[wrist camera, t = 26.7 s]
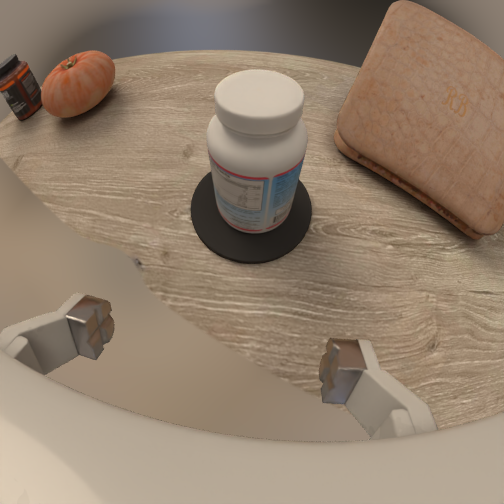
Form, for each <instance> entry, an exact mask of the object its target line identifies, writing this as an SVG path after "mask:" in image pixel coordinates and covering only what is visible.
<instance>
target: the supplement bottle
mask: <svg viewBox="0 0 504 504" xmlns="http://www.w3.org/2000/svg"><path fill="white" fill-rule="evenodd" d="M0 92H1V93H2V95H3V97H4V98H5V100H6V101H7V103H8V104H9V106H10V107H11V109H12V111H13V112H14V114H15V115H16V117H17V118H18V119H19V120H23V119H25V118H28V117H29V116H31V115H32V114H33V113H34V112H35V111H37V110H38V109H39V108H40V106H41V105H42V100H41V89H40V87H39V85H38V83H37V81H36V80H35V77H34V76H33V74H32V72H31V70H30V68H29V66H28V64H27V62H25V61H19V60H18V57H17V55H16V54H13V55H11V56H10V57H8V58H7V59H6V60H5V61H3V62H2V63H1V64H0Z"/></svg>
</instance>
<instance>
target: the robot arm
mask: <svg viewBox="0 0 504 504" xmlns="http://www.w3.org/2000/svg"><path fill="white" fill-rule="evenodd" d="M111 311H112V309H111V305H110V302H108V301H107V300H103V299H100V298H96V297H93V296H90V295H85V294H82V293H79V292H78V293H75V294H74V295H72V297H70V298H69V299H68V300H67V301H66V302H65V303H64V304H63V305H62V306H61V307H60V308H59V309H58V310H56V312H49V313H47V314H43V315H40V316H37V317H34V318H32V319H28V320H25V321H23V322H19V323H16V324H13V325H10V326H7V327H6V328H5V329H4V330H3V331H2V332H1V333H0V504H504V411H503V412H500V413H497V414H494V415H491V416H488V417H485V418H482V419H479V420H475V421H472V422H468V423H465V424H461V425H457V426H453V427H449V428H445V429H440V430H438V428H437V425H436V423H435V420H434V417H433V415H432V412H431V410H430V407H429V405H428V404H427V403H425V402H424V401H423V400H422V399H420V398H419V397H418V396H417V395H415V394H414V393H413V392H412V391H410V390H409V389H408V388H407V387H405V386H404V385H403V384H402V383H400V382H399V381H398V380H397V379H395V378H394V377H393V376H392V375H391V374H389V373H388V372H387V371H386V370H381V367H380V364H379V362H378V359H377V356H376V354H375V351H374V349H373V346H372V344H371V341H370V340H361V339H356V340H352V339H338V338H330V339H329V340H328V342H327V345H326V349H327V353H325V354H324V355H323V356H322V359H321V361H320V367H319V379H320V381H321V382H322V383H323V385H322V387H321V394H322V402H323V403H332V404H345V406H346V407H347V408H348V410H349V411H350V412H351V413H352V415H353V416H354V417H355V418H356V420H357V421H358V422H359V423H360V425H361V426H362V427H363V428H364V429H365V431H366V432H367V433H368V434H369V435H370V437H371V438H370V439H369V440H362V441H339V442H305V441H304V442H303V441H283V440H270V439H259V438H250V437H241V436H235V435H228V434H221V433H216V432H210V431H205V430H200V429H195V428H190V427H186V426H182V425H177V424H173V423H169V422H165V421H162V420H158V419H154V418H151V417H147V416H144V415H141V414H137V413H134V412H131V411H128V410H125V409H122V408H119V407H116V406H113V405H111V404H108V403H106V402H103V401H100V400H98V399H95V398H93V397H90V396H88V395H85V394H83V393H80V392H78V391H76V390H74V389H72V388H69V387H67V386H65V385H63V384H61V383H59V382H57V381H55V380H53V379H51V378H49V377H47V376H45V374H47V373H49V372H51V371H53V370H54V369H56V368H58V367H60V366H61V365H63V364H65V363H67V362H68V361H70V360H72V359H74V358H75V357H77V356H78V354H79V355H81V356H84V357H87V358H90V359H93V360H97V358H98V357H99V356H100V354H101V353H102V351H103V350H104V348H103V345H104V344H106V343H108V342H109V341H110V340H111V338H112V336H113V333H114V320H113V318H112V317H111V316H110V312H111Z"/></svg>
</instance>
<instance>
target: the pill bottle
mask: <svg viewBox="0 0 504 504" xmlns="http://www.w3.org/2000/svg"><path fill="white" fill-rule="evenodd" d="M214 98H215V112H216V114H215V115H214V116H213V118H212V119H211V121H210V123H209V126H208V129H207V147H208V154H209V160H210V166H211V172H212V179H213V184H214V190H215V196H216V202H217V206H218V210H219V212H220V214H221V216H222V217H223V219H224V220H225V221H226V222H227V223H228V224H229V225H230V226H232V227H233V228H235V229H237V230H239V231H242V232H245V233H264V232H267V231H270V230H273V229H274V228H276V227H278V226H279V225H280V224H281V223H282V222H283V221H284V220H285V219H286V218H287V216H288V214H289V212H290V209H291V205H292V202H293V198H294V194H295V191H296V187H297V183H298V179H299V176H300V172H301V168H302V164H303V160H304V156H305V152H306V148H307V143H308V134H307V129H306V126H305V124H304V122H303V120H302V119H301V116H302V112H303V110H302V109H303V104H304V92H303V90H302V88H301V86H300V85H299V84H298V83H297V82H296V81H294V80H293V79H291V78H290V77H288V76H286V75H283V74H281V73H278V72H274V71H269V70H245V71H240V72H237V73H234V74H232V75H229V76H228V77H226V78H224V79H223V80H222V81H221V82H220V83H219V84H218V85H217V87H216V89H215V94H214Z"/></svg>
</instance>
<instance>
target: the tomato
mask: <svg viewBox="0 0 504 504" xmlns="http://www.w3.org/2000/svg"><path fill="white" fill-rule="evenodd" d="M114 78H115V66H114V63H113V61H112V60H111V59H110V58H109V57H108V56H107V55H105V54H104V53H102V52H98V51H87V52H82V53H78V54H76V55H73V56H72V57H70V58H68V59H67V60H64V61H63V62H61V63H60V64H59V65H57V66H56V67H55V69H54V70H52V71H51V72H50V74H49V75H48V76H47V78H46V79H45V81H44V83H43V86H42V91H41V100H42V103H43V106H44V108H45V109H46V110H47V111H48V112H49V113H50V114H52V115H54V116H57V117H64V118H65V117H73V116H76V115H79V114H82V113H84V112H86V111H88V110H90V109H91V108H93V107H94V106H96V105H97V104H98V103H99V102H100V101H101V100H102V99H103V98H104V97H105V96H106V95H107V93H108V92H109V90H110V89H111V87H112V85H113V82H114Z"/></svg>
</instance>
